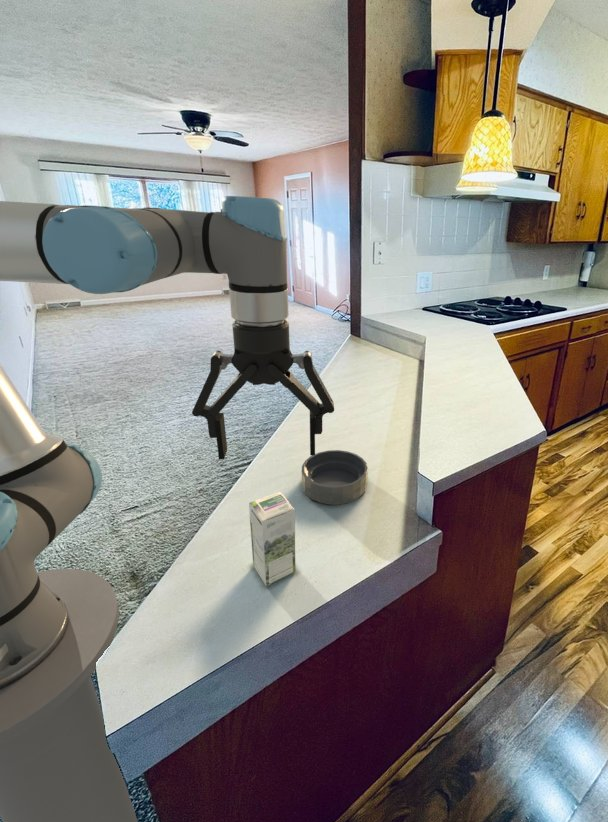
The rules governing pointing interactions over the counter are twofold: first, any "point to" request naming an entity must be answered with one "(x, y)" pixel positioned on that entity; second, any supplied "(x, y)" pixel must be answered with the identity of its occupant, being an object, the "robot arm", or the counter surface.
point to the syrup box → (273, 537)
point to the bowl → (334, 477)
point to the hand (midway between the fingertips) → (268, 452)
